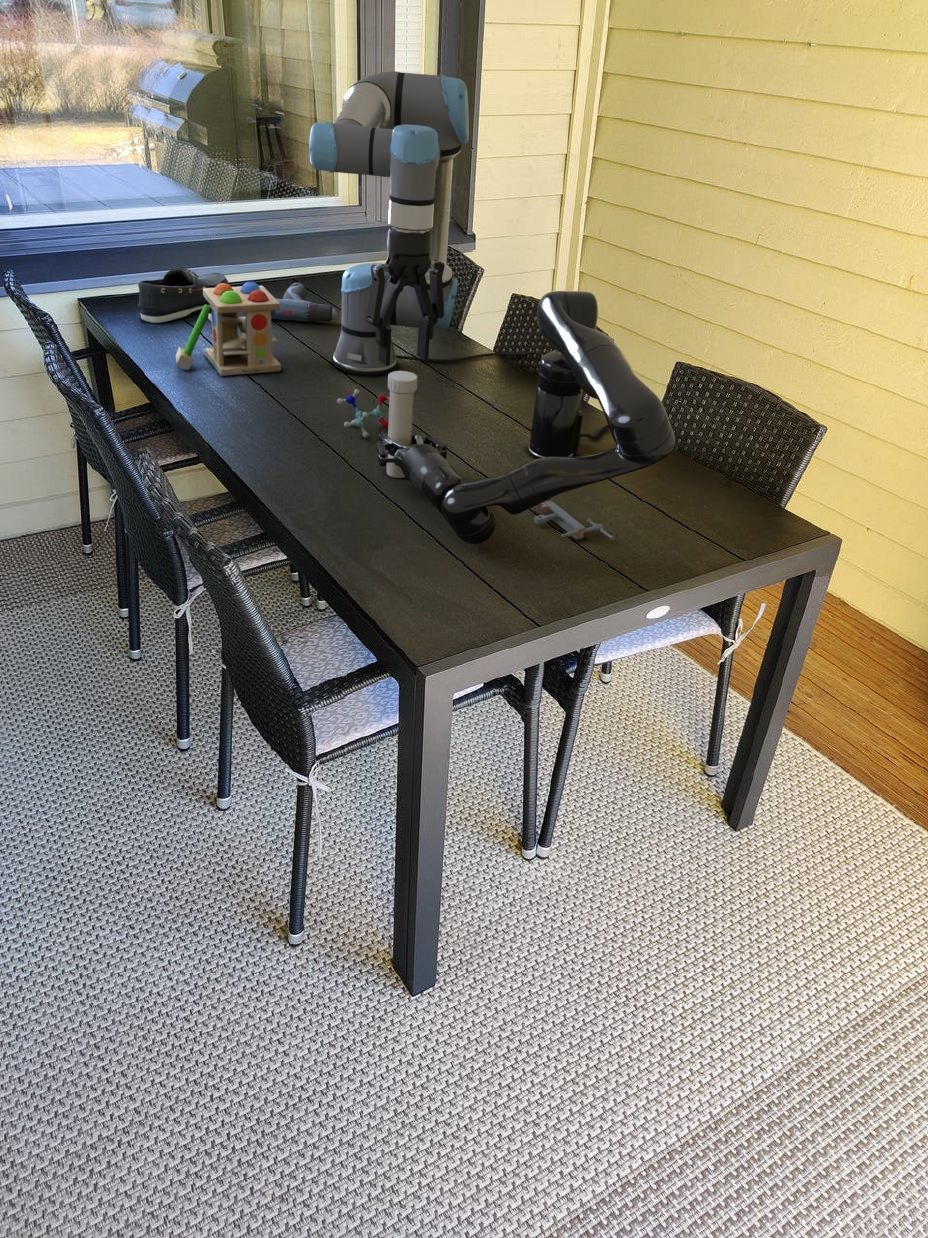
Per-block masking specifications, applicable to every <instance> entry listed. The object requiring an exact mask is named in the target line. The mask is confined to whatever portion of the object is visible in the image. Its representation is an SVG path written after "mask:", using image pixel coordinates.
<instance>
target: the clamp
mask: <svg viewBox="0 0 928 1238" xmlns="http://www.w3.org/2000/svg"><path fill="white" fill-rule="evenodd" d="M535 513H536V514H539V515H534V517H533V522H534V524H537V525H541V524H545V523H547V522H548V521H553V522H554V523H556V524H557V525H558V526H559V527H561V528H562V529H563V530H564V531H565V533H562V534H560V537H561V538H565V537H569V538H570V537H573V538H574V539H575V540H581V539H584V537H585V536H584V535H585V534H586V533H591V532H595V533H598V532H601V533H602V534H603V535H605V536H606V537H607V538H609V541H611V542H612V541H614V540H615V538H616V537H615V536H614V535H611V534H610V533H608V531H606V530H604V526H603V524H602V523H597V524H596V523H595V522H594V521H593V520H592V518H587V521H586V523H587V524H588V525H591V526H590V527H589V526H588V527H585V526H584V525H583V524H582V523H580V522H579V521H578V520H577V519H575V518H574V517H573V516H571V515H570V514H569V513H568V512H567V511H565V510H564V509H563V508H561V506H559V505H558V504H556V503H555V502H553V500H547V501H545V502H543V503H541V504H539V505H537V506H536V510H535Z"/></svg>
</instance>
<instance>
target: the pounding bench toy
mask: <svg viewBox="0 0 928 1238" xmlns="http://www.w3.org/2000/svg"><path fill="white" fill-rule="evenodd" d="M203 296H204V297H205V299H206V300H207V301H208V302H209V304H210V305H211V307H210V306H208V305H204V307H203V309H201V312H200V313H199V316H198V318H197V320H196V322H195V324H194V327H193V329H192V331H191V332H190V333H191V334H190V336H189V338H188V340H187V343H186V344H185V347H184V348H182V347H180V346H179V347H178V349H177V351H176V354H175V357H174V358H175V362H176V365H177V366H178V368H179V369H182V370H185V371H189V370H190V369H191V367H192V365H193V363H194V356H193V351H194V348H195V347H196V345H197V342H198V340H199V337H200V336H201V333H202V332H203V329H204V326H205V325H206V322H207V320H209V321H210V322H211V336H212V337H211V338H212V339H211V340H212V348H205V349H204V352H205V353H204V355H205V357H206V359H208V361H209V363H210V364H211V365H212V366H213V367H214V369H215V370H216V371H217V372H218V374H219V375H220V376H222V377H223V376H234V375H235V376H236V375H246V374H247V375H250V374H262V373H275V372H281V370H282V364H281V363H280V362H279V360H278V359H277V358H276V357H275V356H274V355H273V348H272V347H273V345H272V344H276V343H278V342H279V341H278V339H277V338H276V337H275V336H274V334H272V318H271V310H280V303H279V302H278V301H277V300H276V299H277V298H276V297H274V296H273V295H272V294H271V293H270V292H269V290H268V289H267V288H266V287H264V285H259V284H257V283H256V282H255V281H247V282H245V283H244V284H243V285H242V286H232V285H230V284H229V285H228V284H226V283H221V284H218V285H217V286H216V287H215V288H204V289H203ZM238 313H244V314H245V315H244V316H238ZM238 329H239V331H240V333H239V334H238Z"/></svg>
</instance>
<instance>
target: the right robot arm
mask: <svg viewBox="0 0 928 1238" xmlns="http://www.w3.org/2000/svg"><path fill="white" fill-rule="evenodd" d="M536 309H537V310H536V320H537V325H538V329H539V331H540V334H541V335H542V337H543V338H544V340H545V341H546V342H547V343H548V344H549V345H550V346H551V347H552V348H553V349H554V350H552V351H550V352H547V353H546V354H543V355H544V356H543V357H541V358H540V362H539V369H538V376H537V383H536V384H537V385H536V391H535V392H536V393H535V400H534V406H533V407H534V408H533V413H532V423H531V428H530V432H529V435H530V438H529V444H528V448H527V450H528V453H529V454H530V455H531V456H532V457H534V458H536V459H533V460H531V461H529V462H526V463H524V464H522V465H520V466H518V467H516V468H514V469H512V470H510V471H508V472H506V473H503V474H501V475H497V476H496V475H495V476H491V477H486V478H481V479H476V480H471V481H465V480H464V479H463V476H461V475H460V474H459V473H458V472H457V471H456V470H455V468H454V467H453V466H452V464H451V463H450V462H449V461H448V460H447V456H448V455H447V454H448V445H447V444H445V443H443V442H441V441H440V440H438V439H436V438H434V437H433V436H431V435H425V436H424V437H422V436H421V435H418V434H417V433H416V432H415V431H413V430H412V442H411V445H405V444H403V443H401V442H400V441H393V440H391V438H390V437H389V436H388V433H386V432H385V431H380V432H379V434H378V440H377V442H376V443H377V444H376V456H377V461H378V464H379V467H382V468H383V467H384V468H386V467H387V463H394V464H395V465H396V466H399V467H400V468H401V470H402V472H403V474H404V475H405V477H404V478H406V479H407V480H408V482H409V483H410V484H411V485H412V486H413V487H414V488H415V490H416V491H417V492H418V493H419V494H421V495H422V496H423V497H424V498H426V499H427V501H428V502H429V503H430V504H431V505H432V506H433V507H434V508H435V509H436V510H437V511H438V512H439V513H440V514H441V515H442V517H443V518H444V519H445V521H446V522H447V523H448V525H449V526H450V527H451V529H452V531H453V532H454V533H455V534H456V536H457V537H458V538H459V540H461V541H462V542H465V544H470V545H479V544H482V543H484V542H486V541H488V540H489V539H490V538H491V537H492V536H493V534H494V532H495V530H496V518H495V516H494V513H493V511H492V510H491V509H490V507H495V506H497V507H498V506H499V507H500V508H502V509H503V510H505V511H506V512H507V513H508V514H510V515H513V516H516V515H520V514H521V513H524V512H526V511H528V510H530V509H533V508H534V507H537V505H539V504H541V503H543V502H546V501H550V500H551V499H554V498H556V497H559V496H561V495H563V494H565V493H568V492H572V491H574V490H576V489H580V488H583V487H587V486H590V485H594V484H597V483H600V482H604V481H607V480H611V479H614V478H617V477H620V476H624V475H627V474H630V473H634V472H636V471H640V470H643V469H646V468H648V467H651V466H654V465H656V464H657V463H659V462H661V461H663V460H664V459H665V458H667V457H668V456H669V455H671V453H672V452H673V450H674V448H675V446H676V442H677V441H676V440H677V439H676V434H675V432H674V429H673V426H672V423H671V421H670V418H669V416H668V413H667V411H666V409H665V408H666V407H665V406H664V404H663V402H662V400H661V399H660V398H659V396H658V395H657V394H656V393H655V392H654V391H653V390H652V389H651V388H650V387H649V386H647V385H646V383H644V382H643V381H642V380H641V379H640V378H639V377H638V376H637V375H636V374H635V372H634V370H633V368H632V365H631V364H630V362H629V360H628V359H627V357H626V355H625V354H624V352H623V351H622V350H621V348H620V347H619V346H618V344H617V343H616V341H614V340H613V339H612V338H611V337H610V336H608V335H606V334H605V333H603V332H601V331H598V330H597V325H598V316H599V305H598V300H597V297H596V296H595V294H594V293H592V292H590V291H579V290H578V291H577V290H554V291H549V292H546V293H545V294H543V296H541V298H540V299H539V301H538V305H537V308H536ZM583 392H584V393H585V394H586V395H587V396H588V397H590V398H592V399H594V400H597V402H598V403H599V405H600V408H601V410H602V412H603V415H604V418H605V421H606V423H607V424H606V425H604V426H602V427H601V428H600V429H598V431H596V433H595V434H591V433H583V432H581V430H582V424H583V418H584V413H583V411H581V406H582V397H583ZM607 429H608V430H609V432H610V434H611V436H612V438H613V441H614V443H615V445H614V446H613V447H610V448H609V449H607V450H605V451H602V452H598V453H596V454H595V453H594V454H589V455H581V456H580V455H578V450H579V448H580V444H581V438H589V439H594V440H595V439H597V438H598V437H599V436H600V435H601V434H602V433H603V432H604V431H605V430H607ZM391 447H392V449H391ZM577 455H578V456H577Z"/></svg>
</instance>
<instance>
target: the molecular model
mask: <svg viewBox="0 0 928 1238" xmlns="http://www.w3.org/2000/svg"><path fill="white" fill-rule="evenodd" d="M360 394H361V392H360V390H359V389H358V388H355V389H354V390H353V394H352V395H348V397H347V398H341V397H339V398H337V400H336V403H337V404H338V405H342V404H343V403H348V404H350V405H352V407H353V408H354V411H355V415H354V416H355V418H354V419H353V420H351V421H345V422H344V423H343V426H344V427H345V428H350V426H352V427H357V428H360V430H361V432H362V437H363V438H368V437H369V436H370V435H369V432H368V431H366V430H365V427H364V424H365V421H364V420H365V419H367V418H368V417H369V416H373V418H376V419H377V420H378V421H379V423H380V425H381V427H382V428H383V429H388V420H386V419H385V418H384V417H383V415H382V411H381V406H382V404H383V403H384V402H385V401H389V397H387V396H385V395H384V394H379V395H378V396H377V400H378V404H377V406H376V408H374V409H373V410H372V411H371V412H367V411H364V412H363V411H361V410H359V408H358V406H357V404H356V397H357V396H359V395H360Z"/></svg>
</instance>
